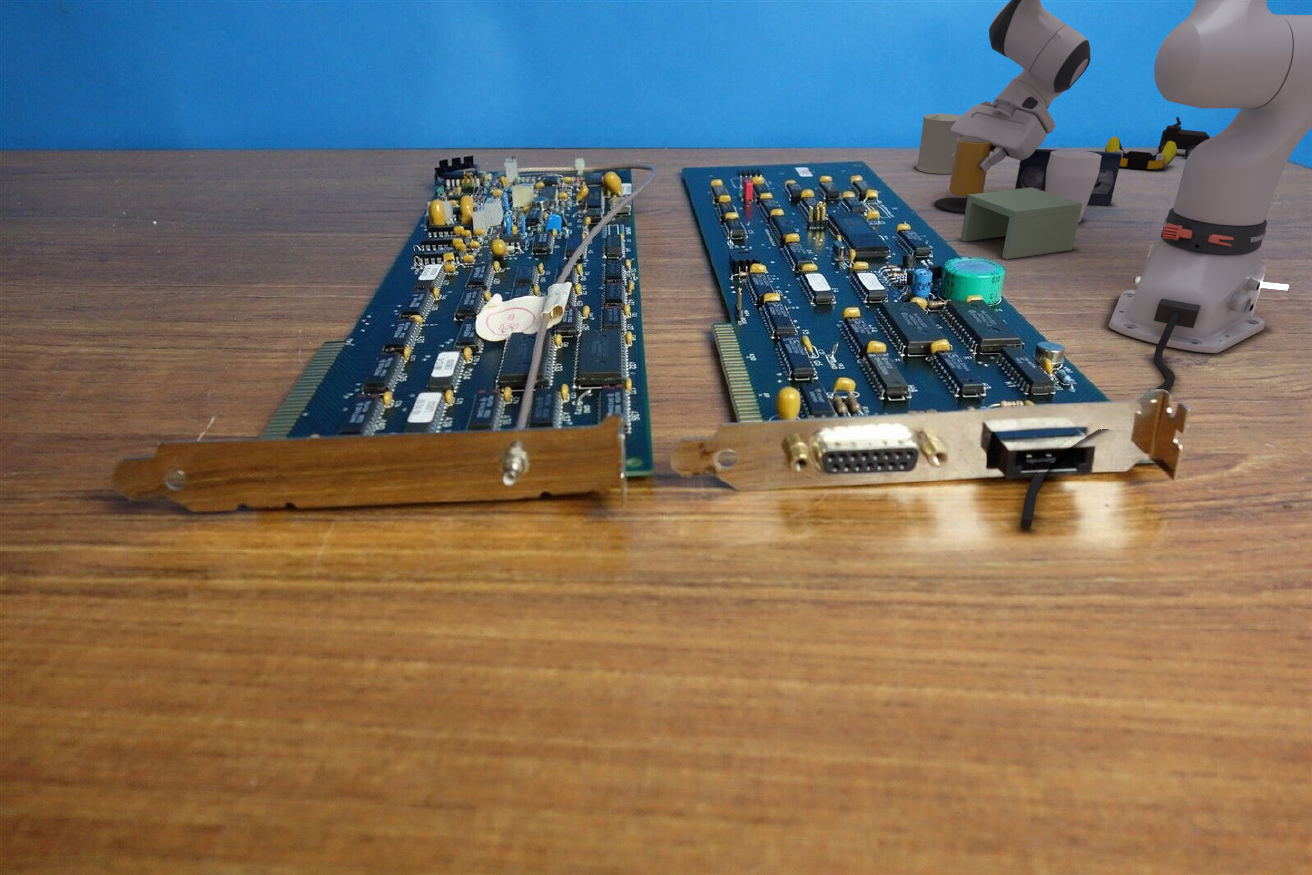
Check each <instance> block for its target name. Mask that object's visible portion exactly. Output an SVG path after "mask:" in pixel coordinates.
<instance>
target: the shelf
mask: <svg viewBox="0 0 1312 875" xmlns="http://www.w3.org/2000/svg"><path fill="white" fill-rule="evenodd" d="M966 198H967V204H966V210H965V214H964V216H963V217H964V218H963V224H962V229H961V236H960V240H961V241H963V242H971V241H979V240H986V239H987V240H988V239H995V238H1001V237H1002V238H1003V237H1005V240H1004V246H1003V250H1002V251H1003V252H1002V256H1001V257H1002V258H1003V259H1004V260H1010V259H1012V260H1013V259H1018V258H1019V259H1020V258H1026V257H1031V256H1039V255H1047V254H1054V253H1059V252H1067V251H1073V247H1074V244H1075V238H1076V234H1077V230H1078V225H1079V222H1078V221H1079V217H1080V212H1081V208H1082V203H1079V202H1076V201H1073V200H1070V199H1067V198H1064V197H1060V196H1057V195H1054V194H1051V193H1048V192H1045V191H1042V190H1039V189H1035V188H1032V187H1031V188H1022V189H1015V188H1013V189H1005V190H1004V189H1003V190H995V191H988V192H983V193H977V194H968V196H967V197H966Z"/></svg>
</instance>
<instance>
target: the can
mask: <svg viewBox="0 0 1312 875" xmlns="http://www.w3.org/2000/svg"><path fill="white" fill-rule="evenodd" d="M961 116H962V115H959V114H952V113H928V114H924V115H923V119H922V129H921V135H920V145H919V152H918V158H917V164H916V170H917V171H919V172H923V173H926V174H927V173H928V174H933V175H934V174H935V175H949V174H950V175H951V172H952V165H953V160H952V158H951V155H952V154H953V153H954V152H955V146H956V139H955V138H954V137H953V135H952V134H951V128H952V126H953V124H954V123H955V122H956V121H957V120H958V119H959V118H960V117H961Z"/></svg>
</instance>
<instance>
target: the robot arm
mask: <svg viewBox="0 0 1312 875" xmlns="http://www.w3.org/2000/svg"><path fill="white" fill-rule="evenodd" d="M1268 1H1269V0H1196V1H1195V4H1194V6H1193V9H1192V10H1191V12H1190V14H1189V15H1188V16H1187V17H1186V18H1185V19H1184V20H1183V21H1181V22H1180V23H1179V24H1177V25H1176V26H1174V28H1173V29H1172V30H1171V31H1170V32H1169V33H1168V35H1166V37H1165V38H1164V40H1163V41H1162V43H1161V44H1160V46H1159V48H1158V50H1157V52H1156V56H1155V59H1154V65H1153V79H1154V81H1155V86H1156V88H1157V90H1158V92H1159V94H1160V95H1161V97H1163V99H1164V100H1166V101H1168V102H1170V103H1175V104H1179V105H1184V106H1188V107H1193V108H1198V109H1203V110H1204V109H1239V110H1238V112H1237V113H1236V115H1235V117H1234V118H1233V120H1231V122H1230V123H1229V124H1228V125H1227V126H1226V127H1225V128H1224V129H1223V130H1222V131H1220V132H1219V133H1217V134H1216V135H1214V136H1211V137H1210V139H1208V140H1206V141H1204V142H1202V143H1200V144H1199V145H1198V146H1196V147H1195V148H1194V149H1193V150H1192V152H1191V153H1190V155H1189V156H1188V158H1187V157H1186V160H1185V164H1184V167H1183V171H1182V174H1181V178H1180V181H1179V186H1178V189H1177V192H1176V196H1175V200H1174V204H1173V207H1172V208H1170V209H1169V211H1168V214H1167V216H1166V217H1165V219H1164V221H1163V222H1164V223H1163V228H1162V231H1161V233H1160V239H1159V240H1157V241H1156V242H1154V243H1153V244H1150V246H1149V250H1148V254H1147V258H1146V261H1145V266H1144V268H1143V270H1142V274H1141V275H1136V276H1135V277H1133V282H1132V283H1133V286H1136V289H1133V290H1132V289H1131V290H1130V289H1129V290H1123V291H1121V293H1120V296H1119V298H1118V301H1117V303H1116V306H1115V308H1114V310H1113V312H1112V315H1111V318H1110V320H1109V322H1108V328H1109V329H1111V330H1112V331H1115V332H1117V333H1119V334H1121V335H1124V336H1128V337H1131V338H1133V339H1137V340H1141V341H1144V342H1148V343H1151V344H1156V347H1155V350H1154V354H1153V363H1154V365H1155V366H1156V368H1157V369H1158V371H1159V372H1160V373H1161V374H1162V375H1163V376H1164V377H1165V380H1164V381H1163V383H1162V384H1160V385H1159V386H1158V387H1156V388H1155V389H1164V390H1167V391H1169V390H1170V389H1171V388H1172V387H1173V385H1174V383H1175V379H1176V375H1175V373H1174V371H1173V370H1172V369H1170V367H1168V366H1166V365H1165V363H1164V361H1163V355H1164V351H1165V348H1166V347H1168V348H1172V349H1173V348H1174V349H1178V350H1182V351H1190V352H1196V353H1207V354H1218V353H1221V352H1223V351H1225V350H1227V349H1229V348H1231V347H1233V346H1235V345H1236V344H1239V343H1241V342H1242V341H1245V340H1246V339H1248V338H1250V337H1252V336H1254V335H1255V334H1258V333H1259V332H1262V331H1264V329H1265V325H1266V321H1265V319H1262V318H1261V317H1258V316H1257V315H1255V311H1256V307H1257V304H1258V300H1259V297H1260V293H1261V291H1262V290H1261V289H1262V288H1263V289H1272V290H1283V291H1288V289H1289V287H1290V285H1289V284H1285V283H1283V284H1282V283H1274V282H1264V279H1265V275H1266V272H1267V266H1266V265H1265V263H1264V262H1263V260H1262V259H1261V257H1260V255H1259V252H1258V250H1259V249H1260V248H1261V247H1262V244H1263V240H1264V238H1265V236H1266V233H1267V230H1266V229H1267V225H1268V220H1267V219H1266V218H1267V214H1268V212H1269V208H1270V205H1271V203H1272V200H1273V197H1274V194H1275V191H1276V188H1277V186H1278V183H1279V180H1280V178H1281V175H1282V173H1283V170H1284V168H1285V166H1286V164H1287V163H1288V161H1289V159H1290V157H1291V155H1292V154H1293V152H1294V150H1295V149H1296V148H1297V146H1298V145H1299V143H1300V142H1301V141H1302V140H1303V138H1304V137H1305V136H1306V134H1308V133H1309V131H1310V130H1311V129H1312V14H1276V13H1272V12H1271V10H1270V9H1269V7H1268V4H1267V2H1268ZM988 37H989V38H988V39H989V44H990V47H991V49H992V50H993V51H995V52H997V53H998V54H1000V55H1001V56H1004V57H1006V58H1008V59H1009V60H1011V61H1012V62H1013V63H1015V64H1016V65H1018V66H1019V67H1021V68H1022V69H1023V70H1022V71H1021V72H1020V73H1019V74H1018V75H1017V76H1016V77H1014V78H1013V79H1012V80H1011V81H1010V82H1009V83H1008V84H1006V86H1005V87H1004V89H1003V90H1002V91H1001V92H1000V93H999V94H998V96H996V98H995V99H994V100H993V102H991V101H988V100H985V101H984V102H981V103H977V104H975V105H973V106H971V107H970V108H969V109H967V111H966V112H964V113H963V114H962V115H960V116H961V117H960V118H959V119H958V120H957V121H956V122H955V123H954V124H953V126H952V128H951V134H952V135H953V137H954V138H955V139H957V138H959V137H966V136H972V137H977V138H980V139H984V140H987V141H990V142H991V149H990V155H989V156H988V157H987V158H982V159H981V161H980V162H979V163H978V164H977V166H978V167H979V169H980V170H982V171H985V172H986V171H987V172H988V171H989V170H990V169H991V168H992V166H994V165H997V164H998V163H999V162H1000V163H1001V162H1002V161H1004V159H1005V158H1006V157H1008V158H1011V159H1014V160H1017V161H1020V160H1024V159H1026V158H1028V157H1030V156H1031V155H1032V154H1033V153H1034V152H1035V150H1036V149H1039V147H1040V146H1041V145H1042V144H1043V143H1044V141H1045V139H1046V138H1047V135H1048V134H1051V133H1052V132H1053V131H1054V130H1055V129H1056V127H1057V126H1056V124H1055V121H1054V119H1053V117H1052V115H1051V113H1050V112H1049V110H1048V109H1049V108H1050V107H1051V106H1050V105H1051V104H1052V102H1053V101H1054V100H1055V99H1056V98H1057V97H1059V96H1060V95H1062V94H1063V93H1064V92H1066V91H1069V90H1070V89H1071V88H1072V87H1073V86H1074V84H1075V83H1076V82H1078V80H1079V79H1080V78H1081V77H1082V76H1083V75H1084V73H1085V72H1086V70H1087V69H1088V67H1089V65H1090V62H1091V44H1090V40H1088V39H1087V38H1086V36H1084V35H1083V34H1082V33H1081V32H1079V31H1078V30H1076V29H1075V28H1073V27H1072V26H1070V25H1069V24H1068V23H1067V24H1066V23H1065V22H1064V21H1063V20H1061V19H1060V18H1058V17H1057V16H1056V15H1054V14H1053V13H1051V12H1049V11H1048V10H1047V9H1046V8H1045V7H1044V6H1043V5H1042V2H1041V0H1010V1H1009V2H1008V3H1006V4H1005V5H1004V6H1003V7H1002V8H1001V9H1000V10H999V11H998V13H997V14H996V16H995V17H994V18H993V20H992V22H991V23H990V26H989V28H988ZM951 158H952V160H953V159H954V153H953V154H952V155H951ZM1048 472H1049V471H1048ZM1048 472H1045V473H1044V474H1043V476H1038V477H1035V475H1036V472H1035V473H1034V475H1033V477H1032V479H1031V481H1030V483H1029V485H1028V488H1027V491H1026V495H1025V499H1024V504H1023V509H1022V515H1021V520H1020V525H1021V527H1023V528H1026V529H1027V528H1031V527H1032V524H1033V519H1034V512H1035V506H1036V501H1037V500H1036V499H1037V497H1038V493H1039V490H1040V488H1041V485H1042V483H1043V481H1044V479H1045V477H1046V476H1047V474H1048Z"/></svg>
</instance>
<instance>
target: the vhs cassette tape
mask: <svg viewBox="0 0 1312 875" xmlns="http://www.w3.org/2000/svg"><path fill="white" fill-rule="evenodd" d="M1055 150H1056V149H1052V148H1051V149H1047V148H1037V149H1036V150H1035V152H1034V153H1033V154H1032V155H1031V156H1030V157H1028V158H1026V159H1024V160H1019V166H1018V171H1017V176H1016V182H1015V186H1014V187H1015V188H1014V189H1022V188H1031V187H1032V188H1035V189H1039V190H1042V191H1045V186H1046V170H1047V165H1048V162H1049V158H1050V154H1051V152H1052V151H1055ZM1087 151H1088V152H1093V153H1097V154H1099V155H1101V162H1100V169H1099V174H1098V177H1097V180H1096V182H1095V185H1094V188H1093V190H1092V193H1091V196H1090V198H1089V201H1088V204H1087V205H1090V206H1091V205H1092V206H1093V205H1094V206H1110V205H1112V200H1113V196H1114V191H1115V186H1116V182H1117V178H1118V174H1119V169H1120V167H1119V165H1120V162H1121V157H1122V155H1121V153H1119V152H1116V153H1115V152H1105V151H1101V150H1100V151H1098V150H1097V151H1095V150H1094V151H1093V150H1087Z"/></svg>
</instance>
